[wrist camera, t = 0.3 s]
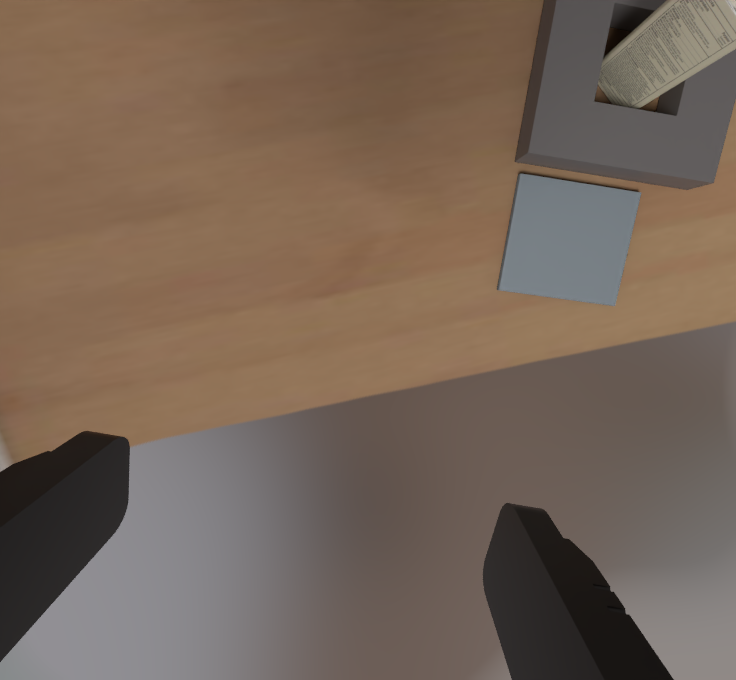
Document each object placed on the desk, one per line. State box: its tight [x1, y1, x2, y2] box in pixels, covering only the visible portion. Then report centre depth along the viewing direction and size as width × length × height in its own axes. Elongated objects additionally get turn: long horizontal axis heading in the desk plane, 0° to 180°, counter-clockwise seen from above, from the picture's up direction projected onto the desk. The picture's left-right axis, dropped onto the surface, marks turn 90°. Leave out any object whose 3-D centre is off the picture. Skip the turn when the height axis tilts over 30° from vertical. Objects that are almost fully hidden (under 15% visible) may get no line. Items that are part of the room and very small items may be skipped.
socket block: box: [515, 0, 736, 190], centre depth 31 cm, size 16×16×2 cm
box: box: [598, 0, 736, 109], centre depth 27 cm, size 5×4×11 cm
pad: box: [497, 173, 641, 306], centre depth 34 cm, size 10×11×1 cm
